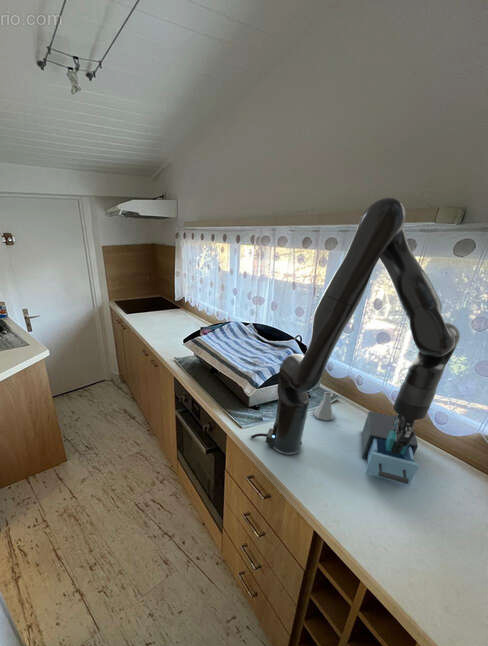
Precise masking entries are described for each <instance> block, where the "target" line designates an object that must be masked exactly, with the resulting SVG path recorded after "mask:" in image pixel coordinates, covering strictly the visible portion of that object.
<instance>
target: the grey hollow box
mask: <svg viewBox="0 0 488 646" xmlns="http://www.w3.org/2000/svg"><path fill="white" fill-rule="evenodd" d="M395 416H396V415H395ZM395 416H394V415H390V414H386V413H380V412H376V411H371V410H369V411H368V413H367V416H366V419H365V421H364V425H363V428H362V431H361V458H362V459H365V460H368V452H367V451H368V448H369V445H370V442H371V439H372V437H374V438H378V439H382V440H386V439H387V437H388V434H389V431H390V430H391V431H393V428H394V426H393V423H394V420H395ZM412 432H414V436H413V437H412V439H411V440H410V442H409V445H408V446H411V447H412V452H413V456H415V454H416V451H417V449H418V447H419V444H418V439H417V436H416V431H415V427H414V428H413V429H412Z"/></svg>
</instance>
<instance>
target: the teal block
mask: <svg viewBox="0 0 488 646" xmlns="http://www.w3.org/2000/svg"><path fill="white" fill-rule="evenodd" d="M395 438H396V433H395V431H391V430H390V431H389V434H388V437H387V439H386V450H387V451H391V449H392V446H393V444H394V440H395ZM408 445H409V444H408ZM407 447H408V446H407ZM407 447H405V446H403V448H402V450H401V453H400V454H403V455H404V454H405V451H406V449H407Z"/></svg>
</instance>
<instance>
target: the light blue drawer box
mask: <svg viewBox="0 0 488 646" xmlns="http://www.w3.org/2000/svg"><path fill="white" fill-rule="evenodd" d="M367 452H368V459H367V465H366V467H365V472H364V473H365V474H366V475H369V476H374V477H377V478H380V479H384V480H388V481H391V482H394V483H398V484H402V485H404V486H405V485H406V486H408V487H409V486H410V485H411V483H412V481H413V480H414V477H415V475H416V473H417V471H418V469H419V466H420V465H419V462H415V457H414V456H415V455H414V456H413V452H412V447H411V446H408V447H407V449H406V451H405V454H404V455H403V454H396V453H392V452H391V451H387V450H386V440H382V439H378V438H374V437H372V439H371V442H370V445H369V448H368V451H367Z"/></svg>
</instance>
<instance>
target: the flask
mask: <svg viewBox="0 0 488 646" xmlns="http://www.w3.org/2000/svg"><path fill="white" fill-rule="evenodd" d="M333 396H334V394H333V393H332V392H329V391H325V392H323V399H322V401H321V402H320V403H319V404H318V406H317V407H316V408H315V410H314V413H313V415H314V416H315V417H316V418H317V419H319V420H323V421H332V420H333V419H334V414H333V408H332V398H333Z"/></svg>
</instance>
